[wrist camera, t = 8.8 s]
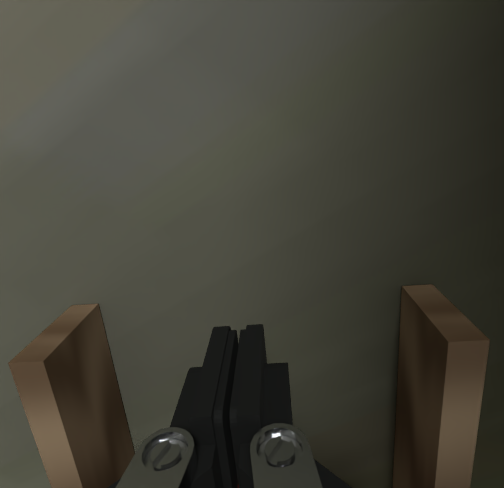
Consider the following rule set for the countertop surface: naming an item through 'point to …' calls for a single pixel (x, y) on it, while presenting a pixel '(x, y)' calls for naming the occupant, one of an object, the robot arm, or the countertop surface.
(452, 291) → the countertop surface
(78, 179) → the countertop surface
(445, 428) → the wooden tray
